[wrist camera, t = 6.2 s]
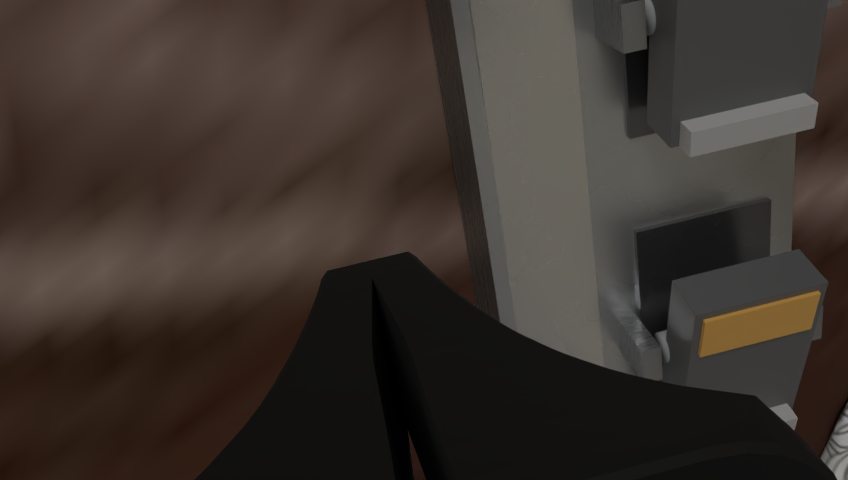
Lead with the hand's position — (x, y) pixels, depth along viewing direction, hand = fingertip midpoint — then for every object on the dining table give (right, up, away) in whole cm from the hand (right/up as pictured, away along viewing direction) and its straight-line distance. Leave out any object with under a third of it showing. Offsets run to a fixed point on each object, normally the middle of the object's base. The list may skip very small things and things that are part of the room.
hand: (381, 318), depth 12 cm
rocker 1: (+7, +6, +5) cm, 11 cm away
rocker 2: (+8, -1, +9) cm, 12 cm away
